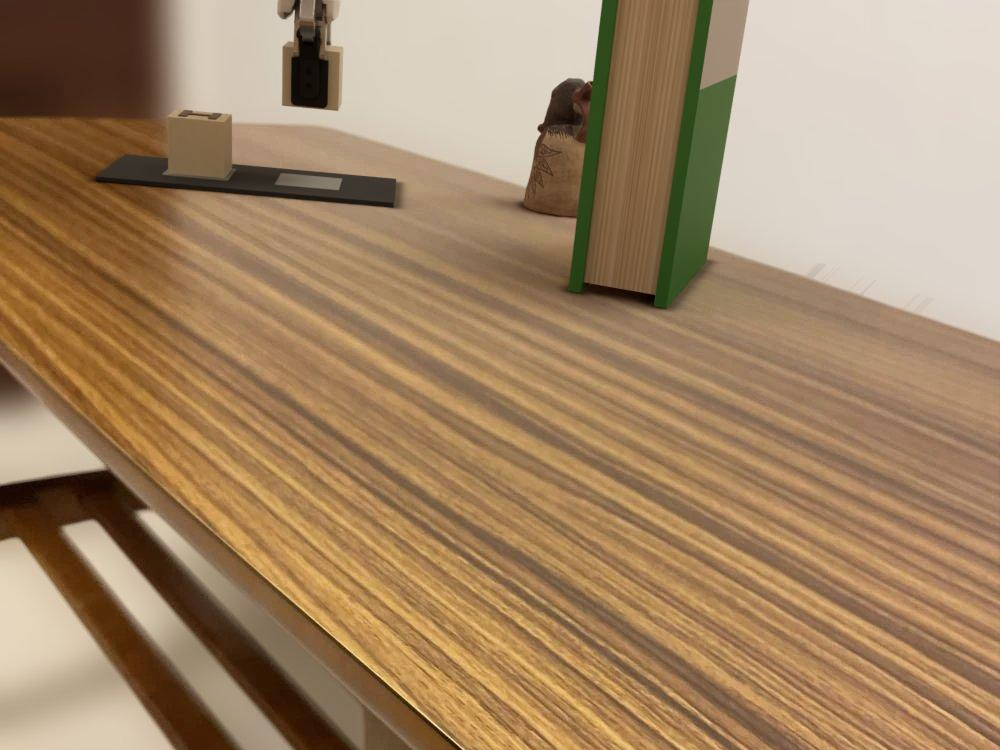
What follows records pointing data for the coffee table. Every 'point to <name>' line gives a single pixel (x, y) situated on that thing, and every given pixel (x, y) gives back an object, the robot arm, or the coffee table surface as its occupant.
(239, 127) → the coffee table surface
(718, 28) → the hardback book
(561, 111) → the figurine
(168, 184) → the word mat
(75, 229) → the coffee table surface
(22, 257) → the coffee table surface
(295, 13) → the robot arm
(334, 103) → the tile
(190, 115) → the tile
